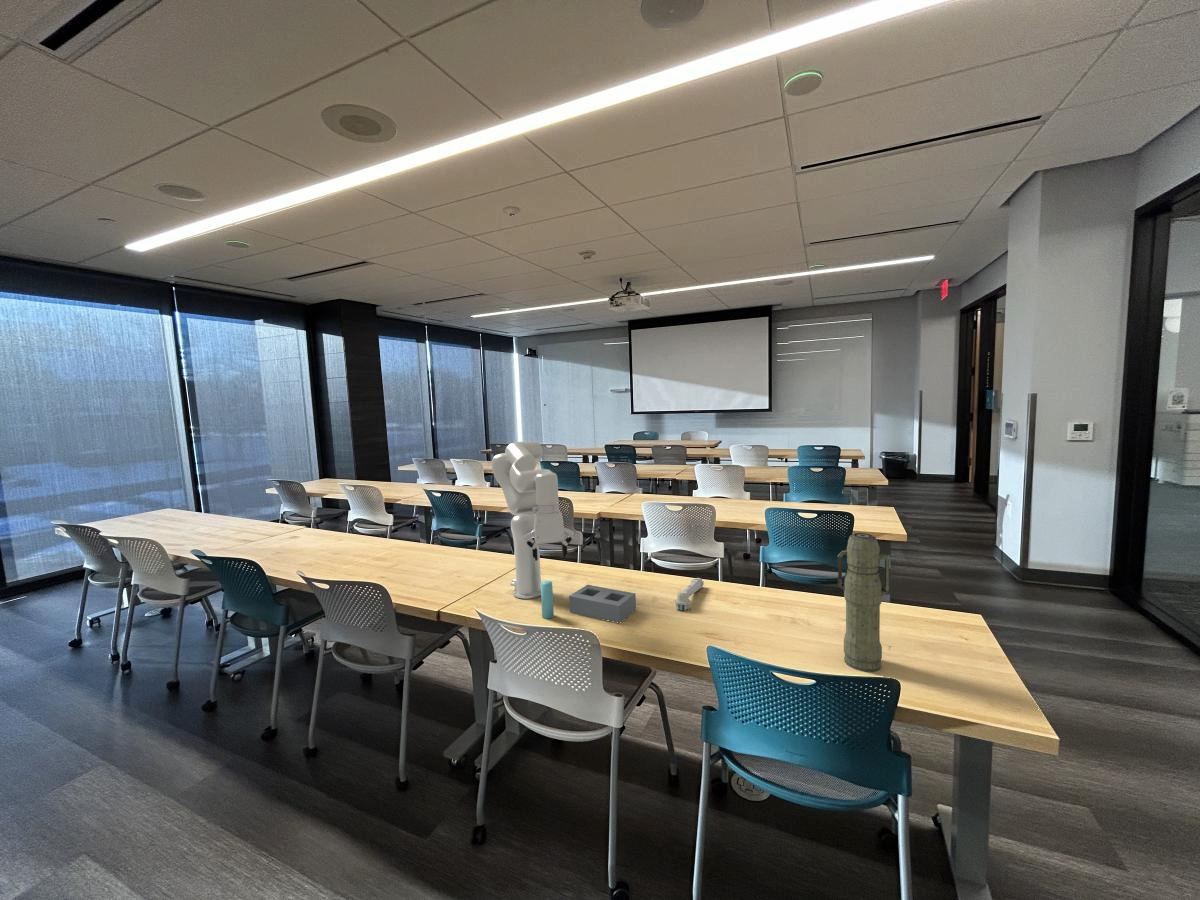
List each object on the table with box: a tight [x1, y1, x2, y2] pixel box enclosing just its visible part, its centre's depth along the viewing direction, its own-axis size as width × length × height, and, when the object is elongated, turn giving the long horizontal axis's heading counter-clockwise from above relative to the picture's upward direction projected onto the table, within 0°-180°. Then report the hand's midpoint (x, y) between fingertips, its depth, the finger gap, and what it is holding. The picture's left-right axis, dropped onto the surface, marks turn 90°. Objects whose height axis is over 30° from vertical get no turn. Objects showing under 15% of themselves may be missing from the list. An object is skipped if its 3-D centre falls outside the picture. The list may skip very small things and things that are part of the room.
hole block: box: [568, 584, 637, 624], centre depth 169 cm, size 20×12×6 cm, turn 59°
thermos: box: [837, 532, 890, 673], centre depth 128 cm, size 9×12×35 cm
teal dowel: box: [540, 580, 555, 620], centre depth 166 cm, size 4×4×12 cm
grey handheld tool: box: [674, 577, 704, 611], centre depth 177 cm, size 5×7×25 cm
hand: (550, 557), depth 165 cm, fingers open, 9 cm apart
